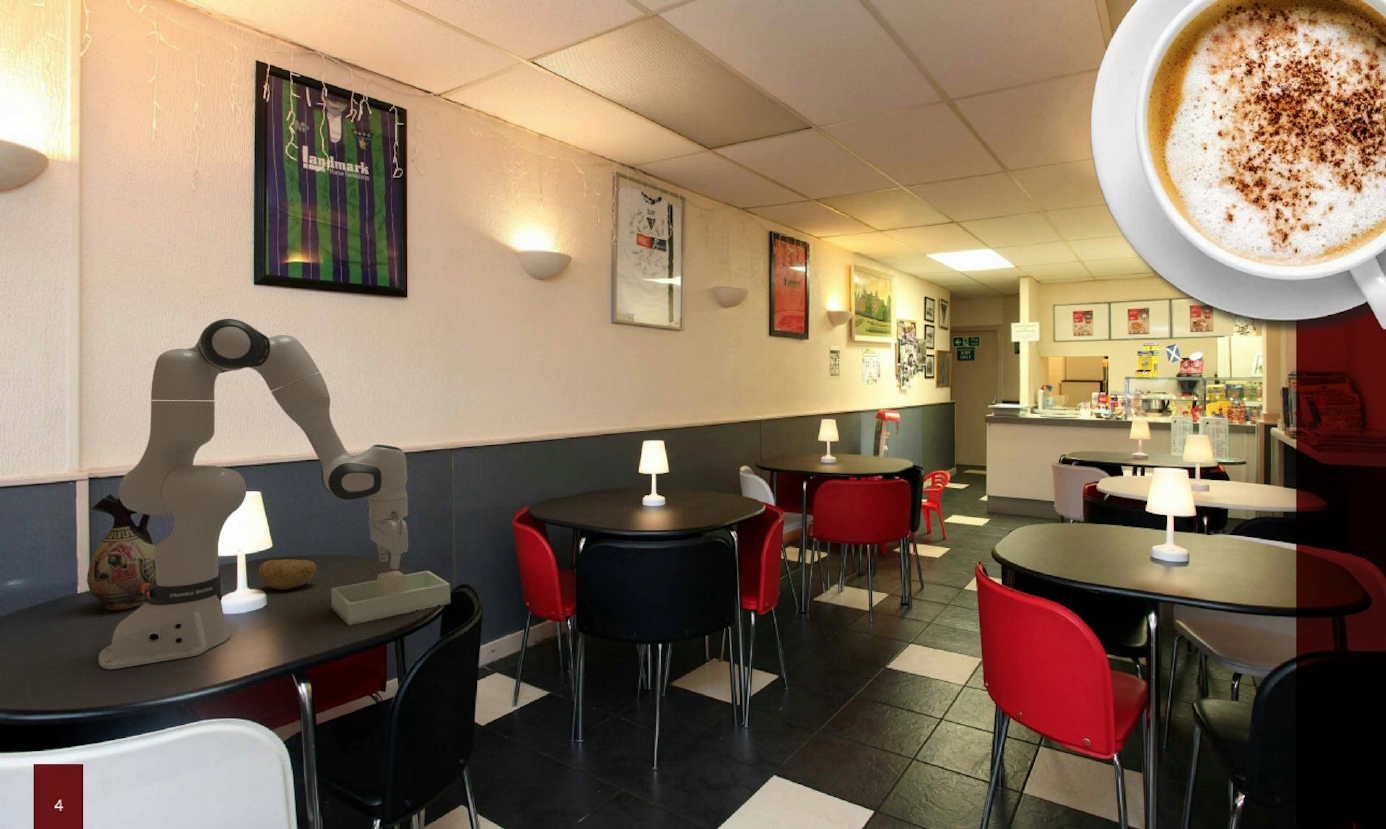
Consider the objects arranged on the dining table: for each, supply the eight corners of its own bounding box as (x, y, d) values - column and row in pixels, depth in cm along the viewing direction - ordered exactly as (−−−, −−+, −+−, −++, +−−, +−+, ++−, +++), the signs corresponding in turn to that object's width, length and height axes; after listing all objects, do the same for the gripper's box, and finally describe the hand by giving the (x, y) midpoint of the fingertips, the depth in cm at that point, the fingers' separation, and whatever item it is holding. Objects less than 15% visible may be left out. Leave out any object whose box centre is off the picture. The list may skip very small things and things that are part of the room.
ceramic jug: (78, 619, 168) (70, 495, 166) (101, 599, 182) (95, 485, 180) (165, 608, 174) (158, 489, 173) (181, 591, 188) (175, 480, 187)
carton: (384, 606, 173) (383, 578, 172) (378, 601, 176) (377, 574, 176) (405, 602, 176) (404, 574, 175) (398, 597, 180) (398, 570, 179)
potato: (310, 592, 187) (309, 562, 187) (252, 595, 185) (251, 565, 184) (322, 581, 197) (321, 553, 196) (267, 584, 194) (266, 556, 194)
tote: (348, 625, 163) (347, 604, 162) (331, 608, 175) (331, 588, 174) (450, 603, 178) (450, 584, 178) (428, 588, 190) (428, 570, 190)
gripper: (414, 514, 168) (415, 571, 169) (390, 503, 184) (390, 555, 184) (387, 516, 164) (387, 575, 165) (364, 505, 180) (365, 559, 181)
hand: (389, 564), depth 175 cm, fingers open, 8 cm apart
